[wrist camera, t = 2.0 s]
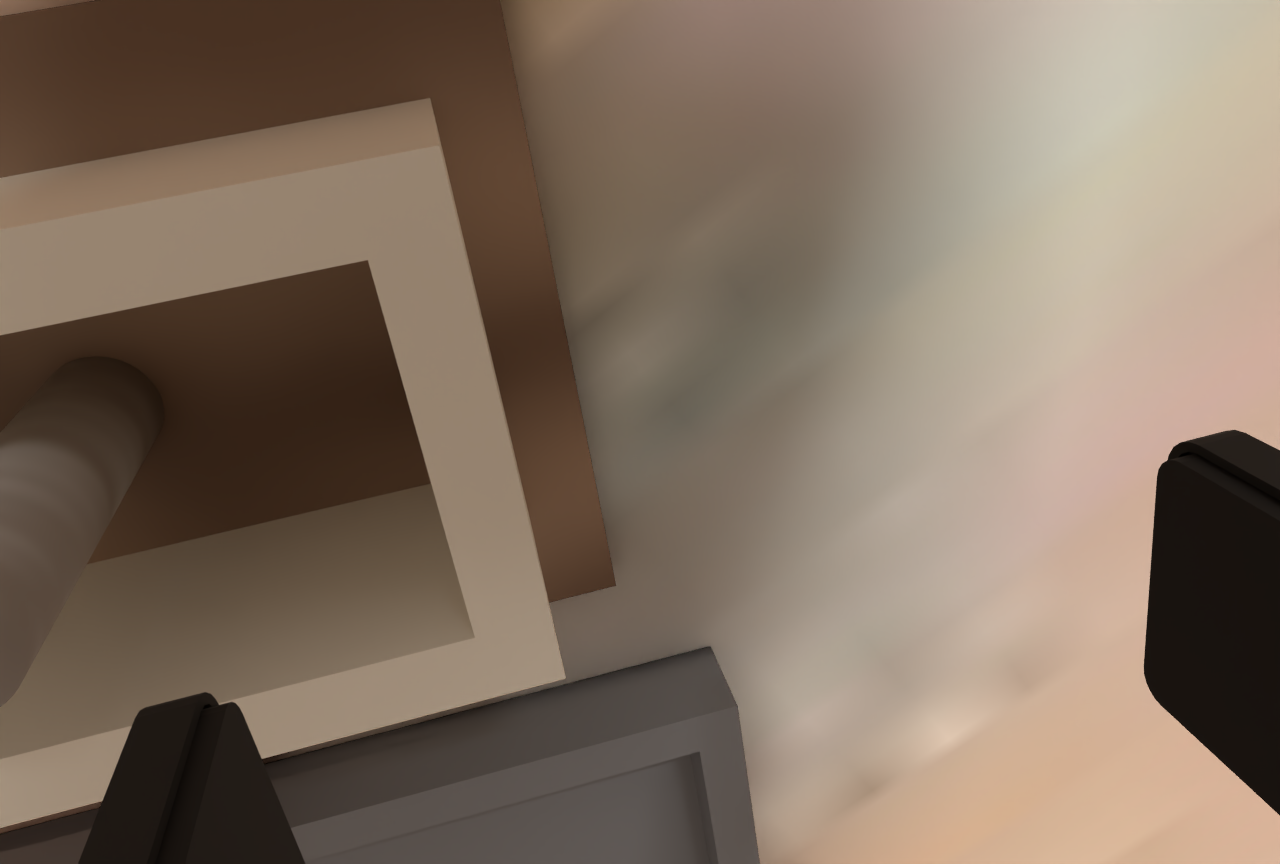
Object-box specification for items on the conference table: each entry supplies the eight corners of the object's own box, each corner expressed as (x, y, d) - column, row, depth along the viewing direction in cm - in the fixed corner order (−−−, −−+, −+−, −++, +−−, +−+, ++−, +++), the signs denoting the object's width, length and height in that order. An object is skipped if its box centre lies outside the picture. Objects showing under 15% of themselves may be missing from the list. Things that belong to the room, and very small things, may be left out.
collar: (-471, 265, 15) (-888, 400, 10) (430, 97, 17) (439, 145, 12) (-188, 686, 19) (-397, 932, 14) (528, 513, 21) (566, 678, 16)
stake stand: (-652, 126, 15) (-1664, 266, 7) (484, -64, 17) (540, -96, 10) (-193, 773, 20) (-517, 1201, 13) (610, 571, 22) (706, 846, 15)
